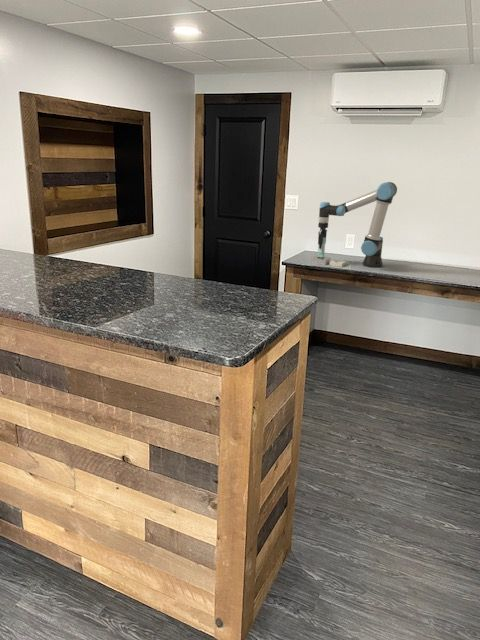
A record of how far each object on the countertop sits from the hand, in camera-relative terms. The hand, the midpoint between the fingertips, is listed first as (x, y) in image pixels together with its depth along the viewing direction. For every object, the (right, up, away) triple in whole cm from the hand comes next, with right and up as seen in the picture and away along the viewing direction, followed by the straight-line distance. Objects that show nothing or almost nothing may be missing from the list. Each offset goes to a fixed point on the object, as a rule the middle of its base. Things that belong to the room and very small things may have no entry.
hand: (321, 252), depth 400 cm
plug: (0, -3, +1) cm, 4 cm away
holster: (+12, -11, -4) cm, 17 cm away
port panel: (0, -8, +3) cm, 9 cm away
